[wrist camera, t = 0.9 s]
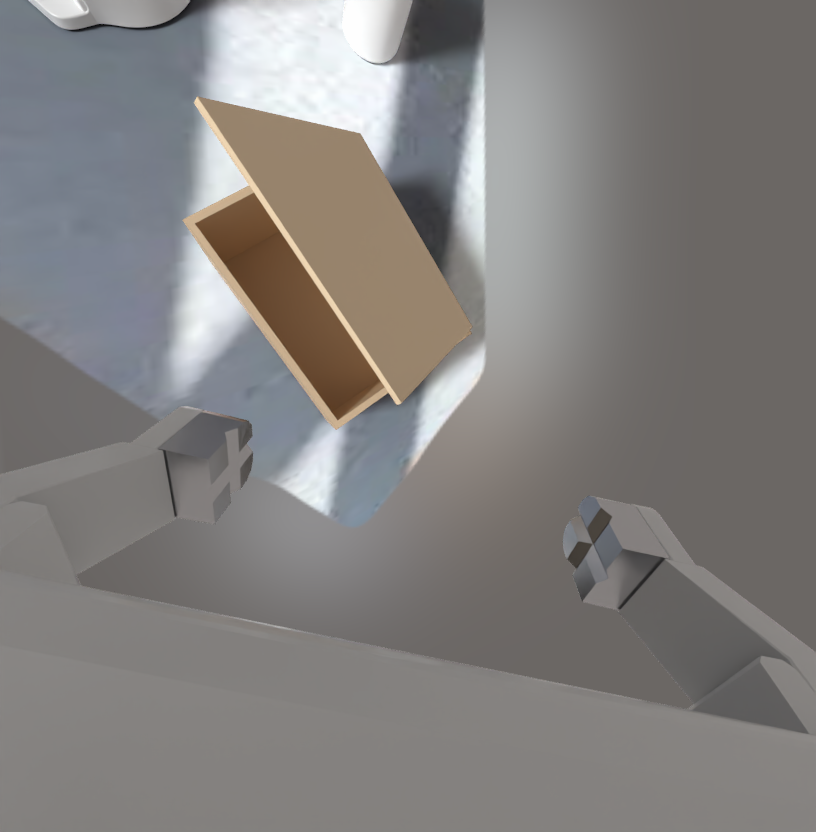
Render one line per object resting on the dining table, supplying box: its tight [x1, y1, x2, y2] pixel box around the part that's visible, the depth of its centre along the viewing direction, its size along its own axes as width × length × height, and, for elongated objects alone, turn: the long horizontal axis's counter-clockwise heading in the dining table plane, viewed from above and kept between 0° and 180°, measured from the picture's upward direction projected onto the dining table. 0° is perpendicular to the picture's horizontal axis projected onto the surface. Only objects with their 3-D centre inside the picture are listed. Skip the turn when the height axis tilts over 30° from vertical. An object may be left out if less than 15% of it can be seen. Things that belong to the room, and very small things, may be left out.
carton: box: [183, 186, 472, 430], centre depth 36 cm, size 16×20×10 cm
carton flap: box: [194, 97, 472, 405], centre depth 27 cm, size 16×19×1 cm
